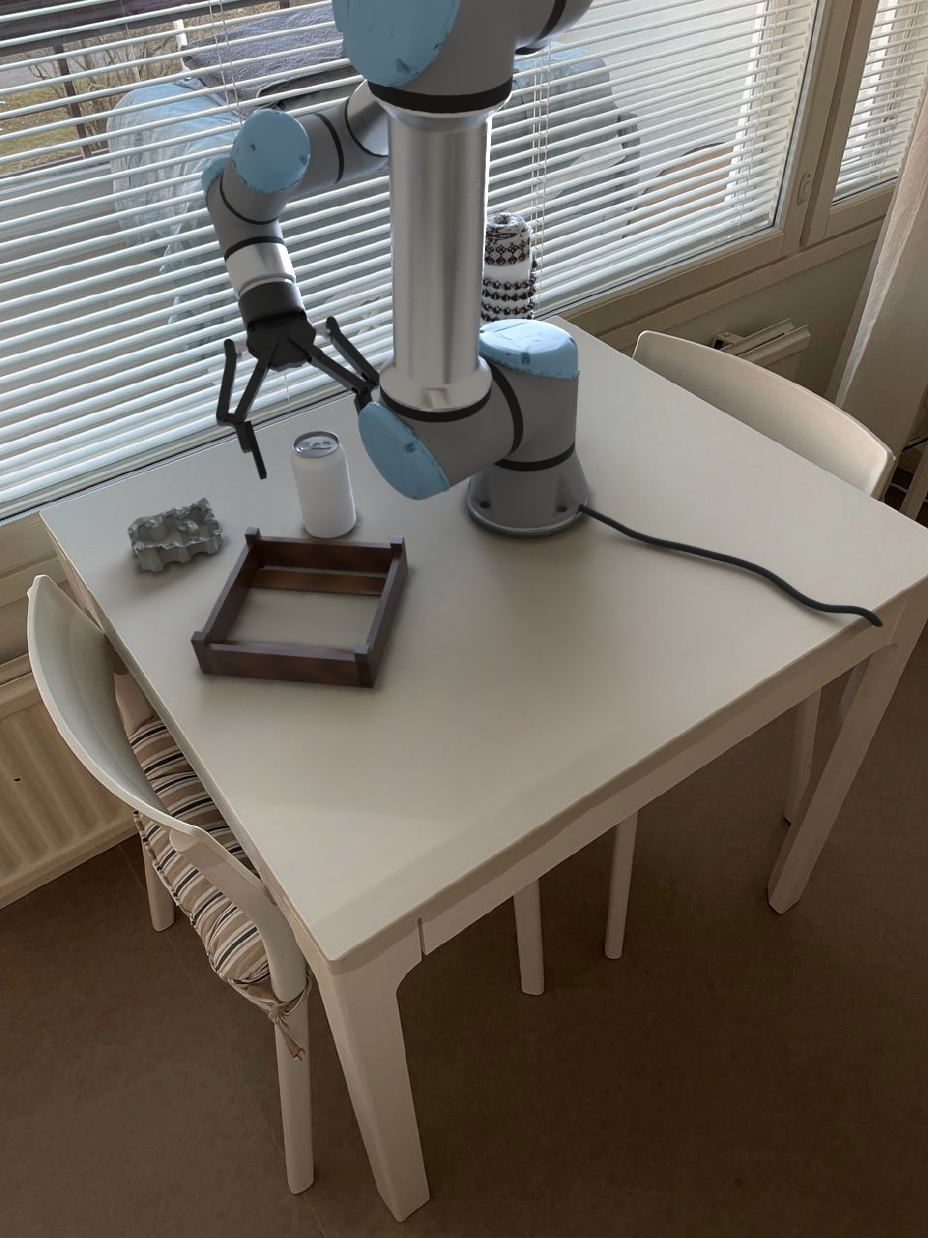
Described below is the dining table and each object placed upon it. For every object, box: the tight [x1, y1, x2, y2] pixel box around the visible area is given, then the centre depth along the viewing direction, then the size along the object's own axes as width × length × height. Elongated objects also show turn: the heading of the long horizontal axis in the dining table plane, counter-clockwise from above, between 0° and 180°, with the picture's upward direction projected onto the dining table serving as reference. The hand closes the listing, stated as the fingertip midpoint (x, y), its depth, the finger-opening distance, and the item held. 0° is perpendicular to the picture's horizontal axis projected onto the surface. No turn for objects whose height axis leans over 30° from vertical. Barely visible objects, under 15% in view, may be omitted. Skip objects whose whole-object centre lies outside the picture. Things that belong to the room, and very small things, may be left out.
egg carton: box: [126, 497, 224, 572], centre depth 114 cm, size 11×8×4 cm
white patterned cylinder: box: [480, 212, 538, 328], centre depth 130 cm, size 9×9×25 cm
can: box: [290, 430, 357, 540], centre depth 113 cm, size 6×6×12 cm
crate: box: [190, 526, 409, 689], centre depth 103 cm, size 19×19×5 cm
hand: (319, 462), depth 112 cm, fingers open, 13 cm apart
